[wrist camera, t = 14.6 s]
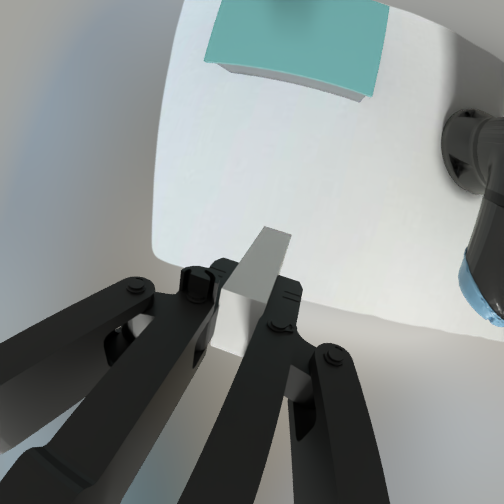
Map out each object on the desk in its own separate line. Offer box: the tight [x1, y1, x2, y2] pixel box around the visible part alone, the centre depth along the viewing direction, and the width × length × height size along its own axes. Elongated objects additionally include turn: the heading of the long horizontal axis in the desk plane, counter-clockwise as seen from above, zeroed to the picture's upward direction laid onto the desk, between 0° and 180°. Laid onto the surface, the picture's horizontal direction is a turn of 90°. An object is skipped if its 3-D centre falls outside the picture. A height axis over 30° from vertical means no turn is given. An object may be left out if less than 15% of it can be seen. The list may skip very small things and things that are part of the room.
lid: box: [204, 0, 389, 97], centre depth 27 cm, size 23×16×3 cm
